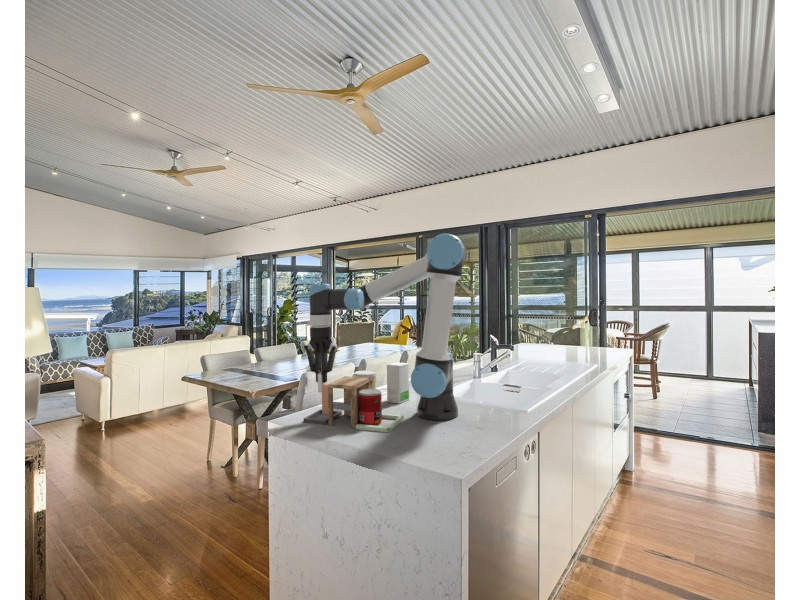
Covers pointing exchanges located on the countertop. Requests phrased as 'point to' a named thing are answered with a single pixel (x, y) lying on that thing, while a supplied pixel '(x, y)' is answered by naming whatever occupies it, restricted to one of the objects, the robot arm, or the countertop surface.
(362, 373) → the coffee cup
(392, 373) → the skincare box
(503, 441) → the countertop surface
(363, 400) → the canned food
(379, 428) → the bay
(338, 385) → the tunnel
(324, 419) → the tray
